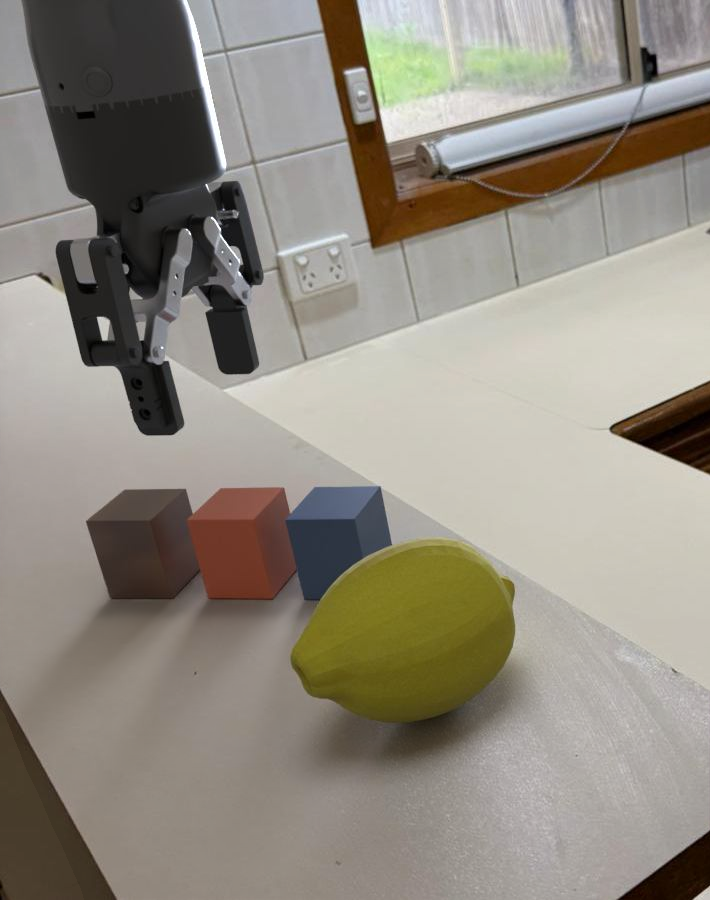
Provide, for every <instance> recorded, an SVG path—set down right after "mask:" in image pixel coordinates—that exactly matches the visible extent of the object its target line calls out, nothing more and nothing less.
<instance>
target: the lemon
mask: <svg viewBox="0 0 710 900" xmlns="http://www.w3.org/2000/svg"><path fill="white" fill-rule="evenodd" d="M515 595H516V588H515V583H514V582H513V581H512V580H511V579H510V577H509V576H506V575H503V574H500V573H499V571H498V569H497V568H496V567H495V566H494V565H493V564H492V563H491V562H490V560H489V559H488V558H487V557H485V556H484V555H483V554H481V553H480V552H479V551H478V550H477V549H475V548H474V547H473V546H471V545H470V544H469V543H466V542H462V541H460V540H457V539H455V538H448V537H437V536H430V537H418V538H417V537H416V538H413V539H408V540H404V541H401V542H398V543H394V544H392V545H391V546H388V547H386V548H383V549H381V550H379V551H377V552H375V553H373V554H371V555H368V556H367V557H365V558H363V559H362V560H360V561H359V562H357V563H356V564H354V565H353V566H352V567H350V568H349V569H348V570H347V571H345V572H344V573H343V574H342V575H341V576H340V577H339V578H338V579H337V580H336V581H335V582H334V583H333V584H332V585H331V586H330V587H329V588H328V590H327V591H326V593H325V594H324V595H323V597H322V598H321V599H320V600H319V601H318V603H317V604H316V606H315V607H314V610H313V611H312V613H311V616H310V618H309V620H308V622H307V625H306V626H305V628H304V630H303V631H302V633H301V634H300V636H299V638H298V639H297V641H296V642H295V644H294V645H293V647H292V649H291V652H290V655H289V656H290V664H291V667H292V670H293V671H294V672H295V673H296V674H297V675H298V678H299V679H300V682H301V685H302V687H303V689H304V692H306V694H307V695H309V696H311V697H312V698H315V699H320V700H330V701H332V702H334V703H336V704H337V705H338V706H340V707H342V708H343V709H345V710H347V711H348V712H350V713H351V714H354V715H356V716H359V717H362V718H365V719H368V720H371V721H376V722H383V723H397V724H398V723H399V724H400V723H403V724H404V723H410V722H411V723H412V722H419V721H423V720H424V721H425V720H427V719H432V718H436V717H439V716H440V715H444V714H446V713H449V712H451V711H454V710H456V709H457V708H459V707H461V706H462V705H464V704H466V703H468V702H470V700H472V699H473V698H475V697H476V696H477V695H478V694H479V693H481V692H482V691H483V690H484V689H485V688H486V687H487V686H488V685H490V684H491V683H492V682H493V681H494V680H495V679H496V677H497V676H498V674H499V673H500V672H501V670H502V669H503V668H504V667H505V664H506V663H507V661H508V658H509V657H510V654H511V652H512V650H513V648H514V642H515V636H516V622H515V621H516V620H515V614H514V609H513V608H514V607H513V604H514V601H515V600H514V599H515Z"/></svg>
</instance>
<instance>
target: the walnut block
mask: <svg viewBox="0 0 710 900" xmlns="http://www.w3.org/2000/svg"><path fill="white" fill-rule="evenodd" d="M193 512H194V511H193V509H192V506H191V502H190V498H189V495H188V490H187V488H139V489H137V488H136V489H135V488H134V489H129V488H128V489H124V490H122V491H121V492H120V493H118V494H117V495H116V496H115V497H113V498H112V499H111V500H110V501H109V502H108V503H106V504H105V505H104V506H103V507H101V508H100V509H99V510H97V511H96V512H95V513H94V514H93V515H91V516H90V517H88V519H86V520H85V524H86V527H87V530H88V533H89V536H90V540H91V542H92V546H93V548H94V549H93V550H94V552H95V555H96V558H97V561H98V565H99V569H100V571H101V575H102V577H103V580H104V584H105V587H106V590H107V594H108V597H109V598H110V599H173V598H175V596H177V594H179V592H180V591H181V590H183V588H184V587H185V586H187V584H188V583H189V582H190V581H191V580H192V579H193V578H194V577H195V576H196V575H197V574H198V573H199V571H200V567H199V564H198V560H197V557H196V553H195V549H194V546H193V542H192V538H191V535H190V531H189V528H188V524H187V519H188V518H189V517H190V516H191V515H193V514H194V513H193Z"/></svg>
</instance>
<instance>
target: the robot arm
mask: <svg viewBox="0 0 710 900" xmlns="http://www.w3.org/2000/svg"><path fill="white" fill-rule="evenodd" d="M20 1H21V2H20V3H21V5H22V11H23V12H22V13H23V18H24V26H25V33H26V41H27V45H28V50H29V54H30V59H31V61H32V66H33V69H34V74H35V77H36V80H37V83H38V84H37V85H38V87H39V91H40V95H41V97H42V101H43V105H44V109H45V112H46V116H47V119H48V124H49V127H50V130H51V134H52V137H53V142H54V145H55V148H56V153H57V156H58V160H59V164H60V167H61V171H62V174H63V177H64V181H65V185H66V188H67V190H68V191H69V192H70V194H71V195H73V196H74V197H75V198H78V199H81V200H85V201H87V202H89V204H91V206H93V208H94V210H95V216H96V235H95V236H91V237H83V238H75V239H61V240H59V241H58V242H57V244H56V245H55V257H56V261H57V262H56V263H57V265H58V266H57V267H58V269H59V274H60V278H61V282H62V286H63V290H64V294H65V298H66V301H67V302H66V303H67V306H68V309H69V315H70V318H71V323H72V327H73V330H74V334H75V338H76V342H77V346H78V351H79V356H80V359H81V361H82V363H83V364H84V366H86V367H87V368H97V367H99V368H100V367H114V368H115V369H117V370H118V371H119V373H120V375H121V379H122V383H123V387H124V390H125V393H126V398H127V401H128V402H129V403H128V405H129V408H130V410H131V416H132V419H133V422H134V423H135V425H136V427H137V429H138V431H139V432H140V434H142V435H144V436H148V437H149V436H150V437H151V436H152V437H153V436H154V437H155V436H157V437H158V436H162V437H163V436H174V435H176V434H177V433H178V432H179V431H181V430H182V429H183V428H184V427H185V419H184V414H183V411H182V407H181V404H180V403H181V402H180V399H179V396H178V392H177V391H178V390H177V388H176V384H175V379H174V375H173V371H172V368H171V364H170V361H169V360H165V358H166V351H167V343H168V335H169V328H170V324H172V323H173V322H174V321H176V320H177V319H178V318H179V316H180V314H181V313H180V312H181V304H182V299H183V297H185V296H187V295H188V294H189V293H190V292H191V290H192V292H193V293H194V294H195V295H196V296H197V298H198V299H199V300H200V301H201V302H202V304H203V305H204V306H205V307H206V308H209V310H207V311H205V312H204V314H205V318H206V321H207V326H208V330H209V335H210V338H211V343H212V347H213V351H214V356H215V360H216V364H217V369H218V370H219V371H220V372H221V373H222V374H224V375H227V376H229V375H231V376H232V375H250V374H252V373H253V372H255V371H256V370H257V369H258V368H259V366H260V360H259V354H258V350H257V347H256V341H255V337H254V332H253V328H252V324H251V319H250V315H249V309H248V307H249V306H250V305H251V304H252V302H253V291H252V288H253V286H261V285H262V284H263V283H264V277H265V274H264V273H265V272H264V268H263V265H262V260H261V257H260V254H259V248H258V245H257V240H256V237H255V232H254V229H253V224H252V219H251V216H250V212H249V209H248V204H247V199H246V196H245V191H244V188H243V185H242V183H241V182H240V181H239V180H226V181H217V180H219V179H220V178H221V177H223V175H224V174H225V172H226V170H227V161H226V156H225V153H224V147H223V143H222V139H221V135H220V129H219V125H218V121H217V115H216V111H215V107H214V103H213V98H212V92H211V89H210V84H209V79H208V75H207V71H206V66H205V61H204V57H203V52H202V48H201V43H200V39H199V35H198V31H197V27H196V24H195V21H194V17H193V15H192V12H191V9H190V7H189V6H190V5H189V4H188V1H187V0H20ZM231 247H235V248H237V249H238V250H239V253H240V258H241V261H242V264H241V261H240V259H239V258H238V257H237V255H236V254H235V253H234V251H233V249H232V248H231ZM131 290H132V291H133V292H134V294H135V295H137V296H138V297H140V299H139V298H137V299H134V298H133V299H131V295H130V292H131ZM98 318H106V319H108V320H109V325H108V331H107V338H106V339H105V340H104V339H103V337H102V333H101V329H100V324H99V319H98ZM137 323H145V325H144V326H145V327H144V334H143V340H142V339H140V335H139V330H138V325H137Z"/></svg>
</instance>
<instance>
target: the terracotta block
mask: <svg viewBox="0 0 710 900" xmlns="http://www.w3.org/2000/svg"><path fill="white" fill-rule="evenodd" d="M289 506H290V505H289V502H288V498H287V494H286V489H285V487H284V486H279V487H278V486H277V487H274V486H273V487H272V486H271V487H270V486H269V487H221V488H219V489H218V490H217V491H215V493H214V494H213V495H211V497H210V498H208V499H207V500H206V501H205V502H204V503H203V504H202V505H201V506H200V507H199V508H198V509H197V510H195V512H194V513H193V515H191V516H190V517H189V518H188V519H187V524H188V528H189V531H190V535H191V538H192V542H193V546H194V549H195V553H196V557H197V560H198V564H199V567H200V570H199V571H200V574H201V578H202V581H203V585H204V589H205V592H206V595H207V599H247V600H248V599H250V600H251V599H256V600H257V599H258V600H259V599H263V600H264V599H265V600H270V599H271V600H272V599H274V598H275V597H276V596H277V594H278V593H279V592H280V591H281V590H282V588H283V587H284V586H285V585H286V584H287V583H288V582H289V580H290V578H292V577H293V575H294V573H295V572H296V571H297V568H296V564H295V559H294V555H293V551H292V547H291V542H290V538H289V534H288V530H287V526H286V521H285V519H286V518H287V517H288V516H289V515H290V514H291V511H290V507H289Z"/></svg>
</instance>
